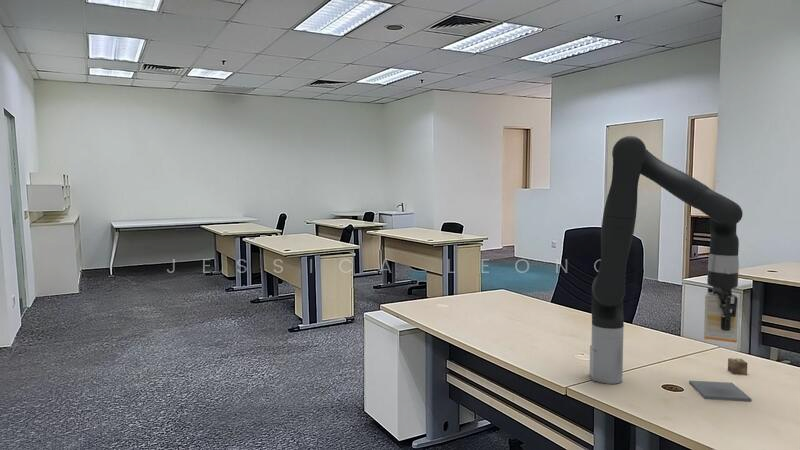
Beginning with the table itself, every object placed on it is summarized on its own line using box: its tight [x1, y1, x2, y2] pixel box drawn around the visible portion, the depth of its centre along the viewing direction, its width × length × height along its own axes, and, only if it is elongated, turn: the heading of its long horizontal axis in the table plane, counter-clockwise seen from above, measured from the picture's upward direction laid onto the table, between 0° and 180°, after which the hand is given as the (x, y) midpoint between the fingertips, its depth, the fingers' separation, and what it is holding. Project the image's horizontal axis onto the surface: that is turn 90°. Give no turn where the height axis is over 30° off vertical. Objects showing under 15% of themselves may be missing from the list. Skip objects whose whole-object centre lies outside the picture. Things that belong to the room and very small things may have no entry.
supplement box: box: [703, 292, 740, 343], centre depth 152 cm, size 8×5×13 cm, turn 58°
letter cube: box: [727, 357, 748, 376], centre depth 168 cm, size 4×4×4 cm
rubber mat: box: [688, 380, 752, 402], centre depth 153 cm, size 12×12×1 cm
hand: (720, 326), depth 152 cm, fingers closed on supplement box, 6 cm apart
